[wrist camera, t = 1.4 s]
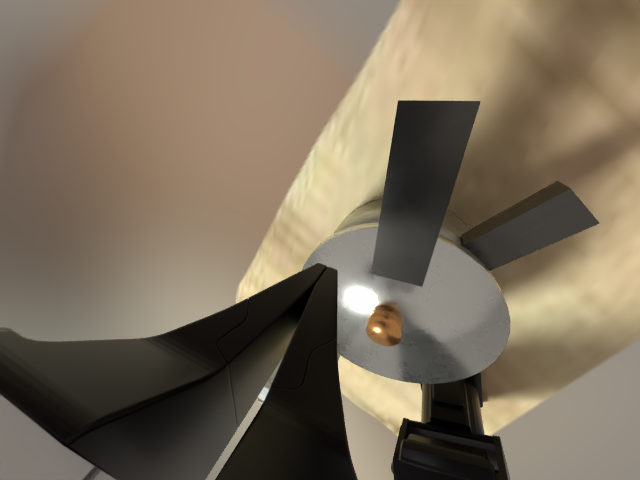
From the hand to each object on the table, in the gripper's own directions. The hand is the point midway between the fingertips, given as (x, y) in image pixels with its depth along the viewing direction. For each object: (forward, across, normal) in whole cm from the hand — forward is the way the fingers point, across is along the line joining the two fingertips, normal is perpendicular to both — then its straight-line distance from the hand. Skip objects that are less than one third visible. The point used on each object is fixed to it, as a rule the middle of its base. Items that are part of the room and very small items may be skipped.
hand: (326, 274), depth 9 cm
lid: (+7, -3, +4) cm, 9 cm away
